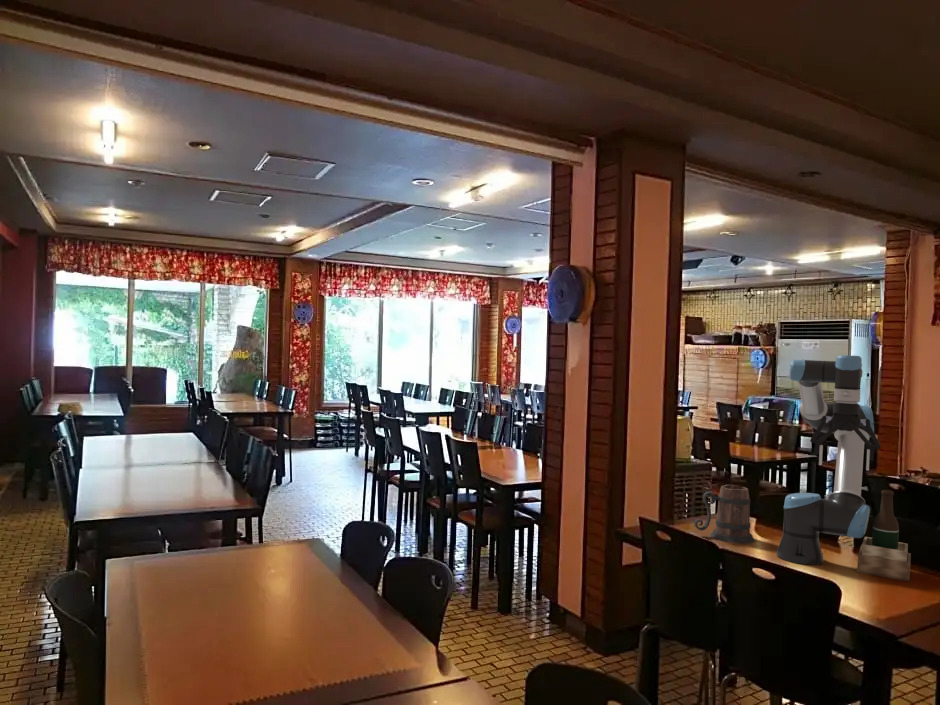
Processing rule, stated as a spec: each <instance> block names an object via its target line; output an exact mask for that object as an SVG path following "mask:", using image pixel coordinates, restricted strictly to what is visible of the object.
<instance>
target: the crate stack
mask: <svg viewBox="0 0 940 705" xmlns="http://www.w3.org/2000/svg"><path fill="white" fill-rule="evenodd" d="M908 548H909V543H905V542H900V541H898V550H895V549H889V548H883V547H877V546H872V537H869V536H864V538H863V541H862V544H861V545H860V548H859V550H858V554H857V567H856V569H857V571H856V572H857V573H860V574H865V575H871V576H876V577H882V578H886V579H893V580H898V581H904V582H908V583H909V582H910V579H911V578H910V575H911V560H912V558H911V557H912V553H909V552H908V550H909V549H908Z"/></svg>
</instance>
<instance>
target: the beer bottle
mask: <svg viewBox="0 0 940 705" xmlns="http://www.w3.org/2000/svg"><path fill="white" fill-rule="evenodd" d="M880 494H881V500H880V507H879V508H880V509H879V513H877V515H876V516H875V518H874V520H873V521H872V533H871V534H872V537H871V538H872V546H877V547H883V548H889V549H895V550H898V542H900V541H899V537H900V535H899V534H900V525H899V523H898V519H897V517H896V516H895V515H894V513H895V512H894V497H893V496H894V494H895V493H894V491H892V490H890V489H883V490H881V492H880Z"/></svg>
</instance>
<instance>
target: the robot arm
mask: <svg viewBox="0 0 940 705" xmlns="http://www.w3.org/2000/svg"><path fill="white" fill-rule="evenodd" d="M835 358H836V359H835V360H815V359H814V360H813V359H803V358H802V359H792V360H791V361H790V365H789V366H790V367H789V380H791V381H793V382H797V383H798V390H799V395H800V405H799V412H800V415H801V418H802V420H803V421H804V422H806V424H807V425H809V426H810V427H812V428H813V429H814V430H815V432H814V433H813V435H812V437H811V438H810V443H812V444H814V445H815V454H816V455H819V456H818V465H819V466H822V465H823V454H824V453H823V451H824V445H823V444H822V443H823V442H824V441H825V440H826V439H827V438H828V437H829V436H831V435H832V434H833V435H834V438H835V439H836V440H837V441H838V442H837V448H836V449H837V451H836V461H835V462H836V463H835V474H834V483H833V484H834V485H833V492H831V493H830V494H829V495H828V496H827V497H828V498H827V499H823V498H822V496H821V495H820V494H819V493H813V492H812V493H811V492H795V493H790V494H787V495H786V496H785V499H784V503H783V504H784V505H783V524H782V525H783V526H782V536H781V538H780V542H779V545H778V546H777V548H776V556H777V557H778V558H780V559H782V560H784V561H787V562H791V563H795V564H801V565H821V564H823V562H824V554H823V551H822V547H821V543H820V539H819V538H820V537H819V536H820V533H823V534H829V535H835V536H839V537H840V536H841V537H847V538H855V539H861V538H863V537H865V534H866V532H867V529H868V523H869V517H870V511H871V508H870V506H869V505H868V504H866V500H865V499H864V498H863V497H862V482H863V470H864V469H863V468H864V454H865V451H864V450H865V445H866V446H867V449H866V463H865V465H866V466H865V470H866V471H870V461H873V460H874V459H875V458H874V457H875V450H879V449H881V447H882V446H881V444H880V442H879V440H878V438H877V436H876V434H875V425H874V416H873V415H874V414H873V413H874V412H873V410H872V407H871V406H868V405H861V404H859V403H860V402H861V383H862V377H863V369H862V368H863V363H862V362H863V360H862V356H859V355H850V354H849V355H848V354H845V355H843V354H839V355H837V356H836V357H835ZM822 383H824V384H825V383H826V384H827V383H828V384H834V388H833V391H834V392H833V400H834V401H835V402H834V403H832V402H825V400H824V391H823V384H822ZM820 433H824V434H823V435H822V436H821V437H820V438H819V439H817V437H818V436H819V434H820ZM870 438H871V440H872V442H873V443H874V444H872V443H871V442H870Z"/></svg>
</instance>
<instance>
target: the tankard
mask: <svg viewBox="0 0 940 705" xmlns="http://www.w3.org/2000/svg"><path fill="white" fill-rule="evenodd" d="M749 492H750V491H749V488H747V487H745V486H739V485H736V484H735V485H734V484H725V485H721V486H720V489H719V494H718V495H717V496H716V495H715V493H713V492H711V491H705V492H704V493H703V495H702V500H703V501H702V502H703V503H704V505H705V507H706V511H707V512H706V514H707V516H706V521H705V522H703V520H702V519H700V518H695V520H694V522H693V524H694V527H695V528H696V529H697V530H698V531H705V530H707V529H708V527H709V526H710V522H711V520H712V512H711V507H710V505H709V503H710V504H711V505H714V504H715V503H716V501H717V500H718V503H717V513H716V518H715V528H713V530H712V532H710V534H709V536H710V537H712V538H713V539H715V540H718V541H721V542H726V543H732V544H752V543H755V542H756V539H755V538H754V537H753V534H752V533H751V522H750V521H751V520H750V519H751V518H750V515H751V512H750V511H751V510H750V506H751V497H750V493H749ZM708 495H711V496H710V502H709V503H708V501H707V497H708ZM699 522H700V523H699ZM703 524H704V525H703Z"/></svg>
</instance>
